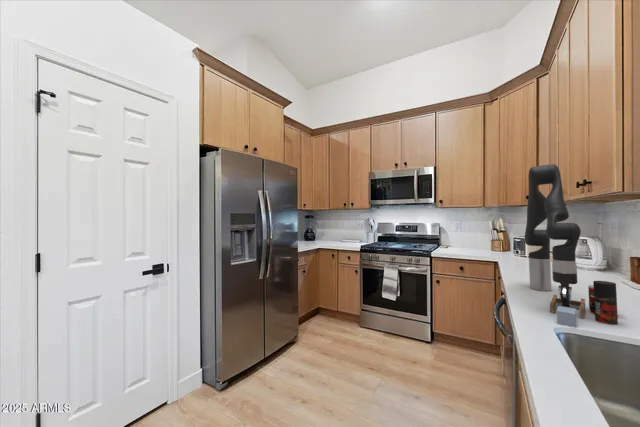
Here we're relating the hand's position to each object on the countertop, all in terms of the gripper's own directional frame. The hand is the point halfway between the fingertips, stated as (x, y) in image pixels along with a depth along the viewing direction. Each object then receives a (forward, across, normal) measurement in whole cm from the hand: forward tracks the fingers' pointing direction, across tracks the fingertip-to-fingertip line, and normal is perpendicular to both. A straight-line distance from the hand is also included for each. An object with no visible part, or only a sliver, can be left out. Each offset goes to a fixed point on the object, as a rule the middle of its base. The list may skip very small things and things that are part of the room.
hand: (566, 312), depth 108 cm
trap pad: (+1, -14, 0) cm, 14 cm away
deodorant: (+1, 0, +11) cm, 11 cm away
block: (+1, +10, +1) cm, 10 cm away
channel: (+1, -9, 0) cm, 9 cm away
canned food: (+1, -11, +11) cm, 16 cm away
